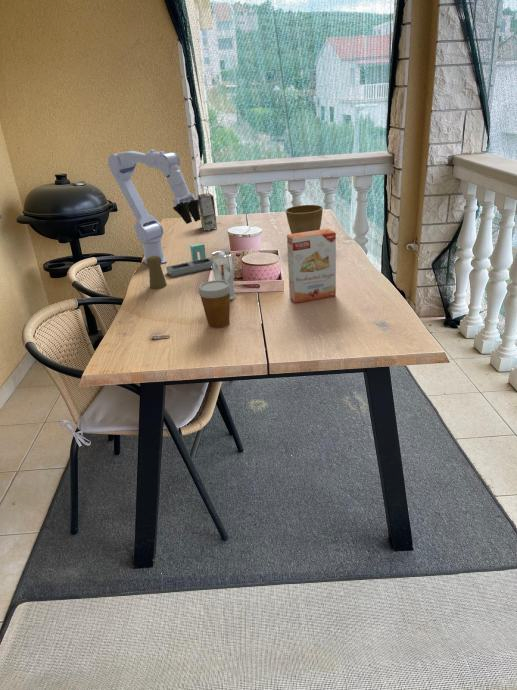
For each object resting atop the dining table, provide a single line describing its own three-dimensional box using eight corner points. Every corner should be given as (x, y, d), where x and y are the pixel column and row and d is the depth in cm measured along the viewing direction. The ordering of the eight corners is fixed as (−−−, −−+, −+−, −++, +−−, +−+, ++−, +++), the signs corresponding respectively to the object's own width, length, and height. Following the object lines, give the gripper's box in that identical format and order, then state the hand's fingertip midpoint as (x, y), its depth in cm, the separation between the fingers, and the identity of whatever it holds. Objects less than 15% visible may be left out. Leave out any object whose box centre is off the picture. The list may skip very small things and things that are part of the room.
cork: (163, 288, 184) (157, 259, 179) (147, 289, 185) (141, 259, 180) (169, 282, 189) (164, 253, 184) (153, 283, 191) (148, 254, 186)
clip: (192, 262, 209) (189, 245, 206) (204, 259, 211) (202, 243, 208) (194, 264, 207) (192, 246, 204) (206, 261, 209) (204, 244, 206)
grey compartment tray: (167, 273, 200) (166, 266, 199) (210, 263, 206) (210, 257, 205) (172, 277, 195) (170, 270, 194) (216, 267, 201) (215, 261, 200)
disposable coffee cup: (218, 314, 159) (213, 277, 154) (241, 321, 154) (237, 282, 148) (196, 326, 153) (190, 288, 148) (219, 333, 147) (214, 293, 142)
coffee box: (217, 229, 254) (213, 195, 247) (205, 231, 253) (200, 197, 245) (213, 225, 262) (209, 192, 255) (201, 227, 261) (196, 194, 253)
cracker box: (295, 304, 162) (292, 238, 153) (289, 297, 167) (285, 233, 158) (337, 296, 165) (336, 231, 155) (329, 290, 170) (328, 227, 161)
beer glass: (240, 294, 174) (235, 250, 167) (232, 302, 168) (227, 257, 161) (221, 293, 176) (215, 250, 169) (212, 300, 170) (207, 256, 163)
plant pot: (323, 241, 221) (322, 203, 214) (323, 251, 208) (322, 211, 201) (288, 243, 223) (286, 205, 216) (286, 253, 210) (284, 213, 202)
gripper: (178, 182, 180) (194, 219, 183) (195, 180, 193) (210, 215, 196) (162, 190, 183) (178, 227, 186) (180, 188, 196) (195, 222, 198)
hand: (193, 221), depth 191 cm, fingers open, 7 cm apart
